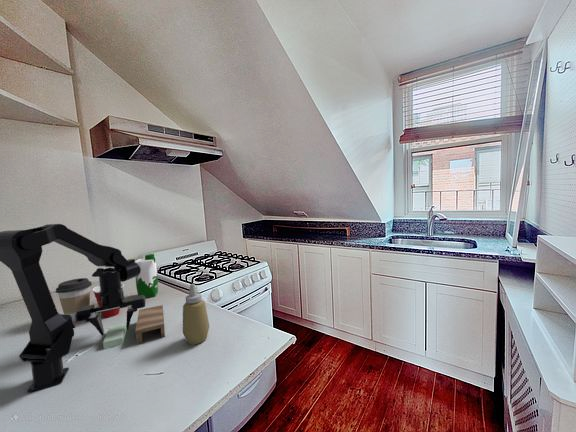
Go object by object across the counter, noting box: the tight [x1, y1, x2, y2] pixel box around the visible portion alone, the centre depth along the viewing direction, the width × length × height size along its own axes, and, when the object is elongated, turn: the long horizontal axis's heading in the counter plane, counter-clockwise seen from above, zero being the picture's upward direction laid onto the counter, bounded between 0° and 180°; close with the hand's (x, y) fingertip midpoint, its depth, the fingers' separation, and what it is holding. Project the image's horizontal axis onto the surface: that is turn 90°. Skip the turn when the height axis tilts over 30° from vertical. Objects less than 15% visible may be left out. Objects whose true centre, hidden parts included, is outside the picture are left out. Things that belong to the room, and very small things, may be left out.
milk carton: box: [134, 253, 159, 299], centre depth 124 cm, size 9×9×20 cm
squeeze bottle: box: [182, 283, 210, 345], centre depth 80 cm, size 8×8×18 cm
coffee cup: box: [55, 277, 93, 323], centre depth 103 cm, size 11×11×15 cm
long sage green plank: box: [102, 322, 127, 350], centre depth 85 cm, size 12×5×3 cm, turn 27°
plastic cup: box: [91, 282, 125, 319], centre depth 104 cm, size 11×11×12 cm
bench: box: [135, 304, 166, 345], centre depth 90 cm, size 18×8×5 cm, turn 27°
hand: (115, 332), depth 85 cm, fingers open, 7 cm apart
